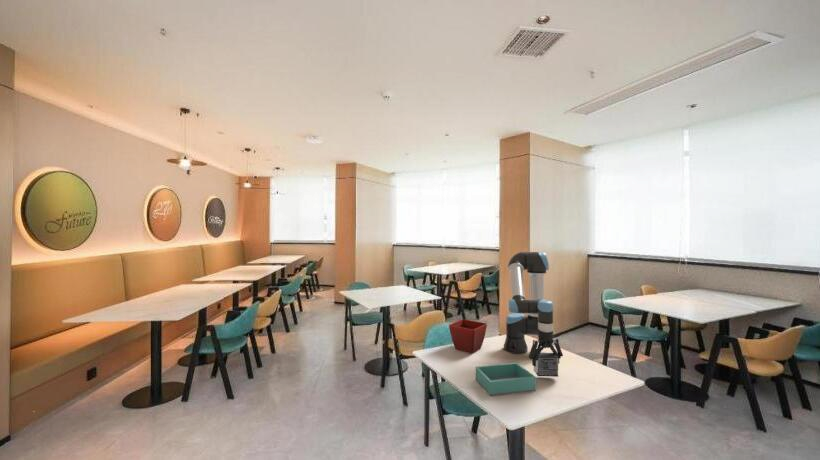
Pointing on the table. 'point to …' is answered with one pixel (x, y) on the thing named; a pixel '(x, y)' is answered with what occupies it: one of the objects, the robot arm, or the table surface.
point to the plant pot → (467, 335)
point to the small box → (547, 364)
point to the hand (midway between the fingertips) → (546, 370)
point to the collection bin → (505, 379)
